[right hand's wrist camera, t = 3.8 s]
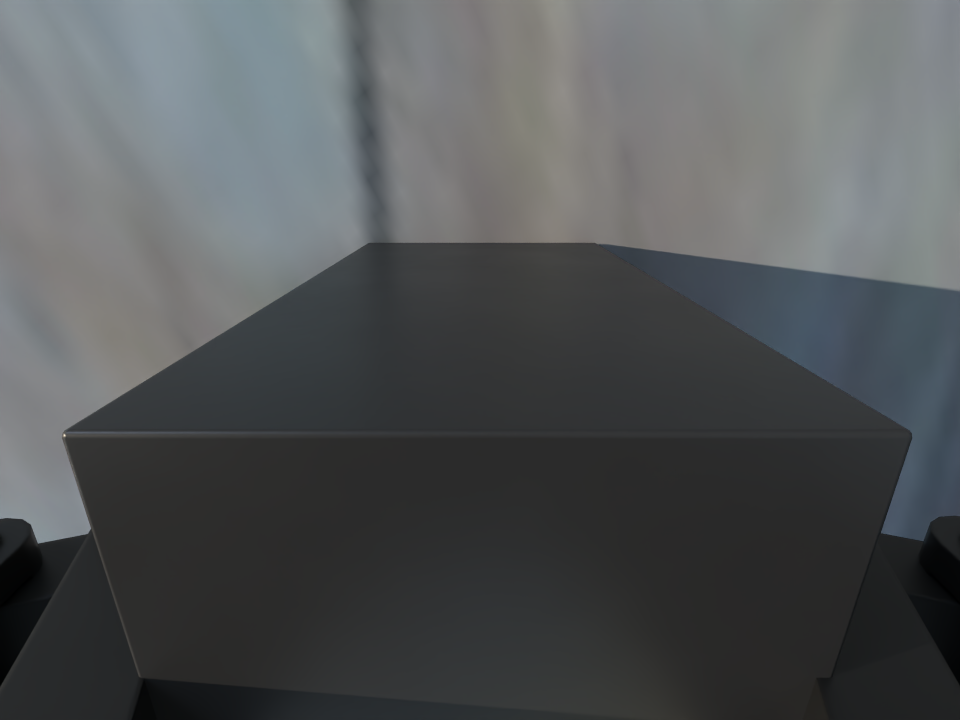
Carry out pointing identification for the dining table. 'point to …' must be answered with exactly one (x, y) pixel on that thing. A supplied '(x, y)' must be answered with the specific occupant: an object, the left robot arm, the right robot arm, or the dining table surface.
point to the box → (485, 501)
